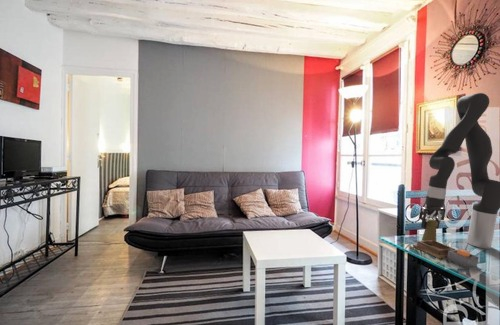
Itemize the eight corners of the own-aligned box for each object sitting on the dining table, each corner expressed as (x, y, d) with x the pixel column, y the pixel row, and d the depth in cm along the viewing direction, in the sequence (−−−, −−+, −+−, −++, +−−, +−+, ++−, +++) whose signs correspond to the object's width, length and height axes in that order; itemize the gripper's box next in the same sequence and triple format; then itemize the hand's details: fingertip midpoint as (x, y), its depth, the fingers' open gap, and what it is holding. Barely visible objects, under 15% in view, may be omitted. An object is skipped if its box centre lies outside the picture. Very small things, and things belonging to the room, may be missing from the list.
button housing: (458, 258, 112) (459, 249, 111) (476, 266, 105) (478, 257, 105) (446, 259, 109) (448, 250, 109) (465, 268, 103) (467, 258, 102)
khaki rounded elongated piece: (438, 244, 127) (442, 222, 126) (424, 242, 128) (428, 220, 127) (432, 240, 132) (436, 218, 131) (419, 238, 134) (422, 217, 133)
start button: (460, 256, 109) (461, 248, 109) (470, 261, 106) (472, 253, 105) (453, 257, 108) (455, 249, 108) (464, 262, 104) (465, 253, 104)
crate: (431, 245, 125) (432, 239, 125) (458, 256, 114) (459, 249, 113) (412, 246, 121) (413, 240, 121) (439, 258, 110) (440, 251, 109)
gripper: (438, 194, 134) (432, 225, 136) (417, 194, 129) (412, 225, 131) (453, 198, 127) (447, 230, 129) (432, 197, 122) (426, 231, 124)
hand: (429, 228), depth 130 cm, fingers open, 8 cm apart
